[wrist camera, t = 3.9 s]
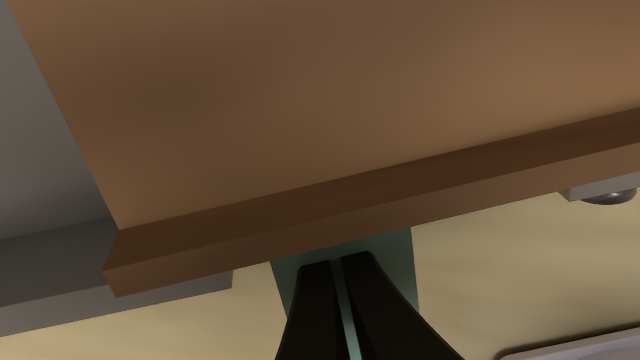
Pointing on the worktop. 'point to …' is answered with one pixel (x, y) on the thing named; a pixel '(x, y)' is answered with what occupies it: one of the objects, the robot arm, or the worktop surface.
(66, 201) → the tray
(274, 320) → the worktop surface
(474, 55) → the tilt board
